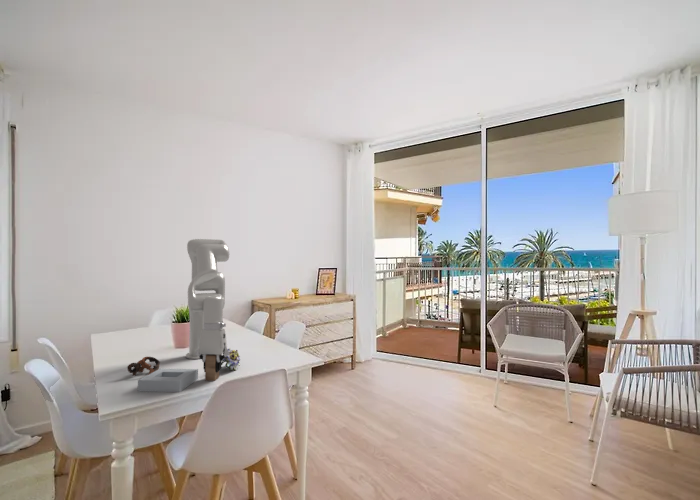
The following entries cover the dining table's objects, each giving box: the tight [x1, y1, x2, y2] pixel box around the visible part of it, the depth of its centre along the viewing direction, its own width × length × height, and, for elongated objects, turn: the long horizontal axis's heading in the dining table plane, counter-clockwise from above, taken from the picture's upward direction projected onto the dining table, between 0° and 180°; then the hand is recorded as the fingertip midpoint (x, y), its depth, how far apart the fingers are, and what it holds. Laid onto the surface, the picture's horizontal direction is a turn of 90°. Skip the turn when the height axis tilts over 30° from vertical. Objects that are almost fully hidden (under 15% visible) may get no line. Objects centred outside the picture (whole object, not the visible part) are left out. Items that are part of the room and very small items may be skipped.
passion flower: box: [221, 347, 241, 371], centre depth 156 cm, size 11×11×12 cm
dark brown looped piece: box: [127, 356, 161, 377], centre depth 148 cm, size 12×10×8 cm
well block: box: [137, 368, 199, 393], centre depth 136 cm, size 14×16×4 cm
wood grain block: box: [204, 355, 220, 382], centre depth 143 cm, size 4×4×10 cm
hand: (212, 370), depth 143 cm, fingers closed on wood grain block, 4 cm apart
